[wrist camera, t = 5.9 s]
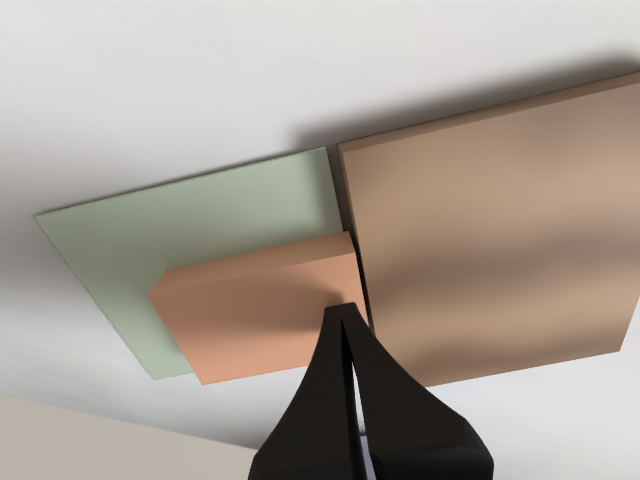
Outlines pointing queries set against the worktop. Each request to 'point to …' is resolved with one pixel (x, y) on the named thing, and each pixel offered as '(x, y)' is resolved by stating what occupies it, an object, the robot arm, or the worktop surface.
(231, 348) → the tile
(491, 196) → the block
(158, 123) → the worktop surface
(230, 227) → the mat
